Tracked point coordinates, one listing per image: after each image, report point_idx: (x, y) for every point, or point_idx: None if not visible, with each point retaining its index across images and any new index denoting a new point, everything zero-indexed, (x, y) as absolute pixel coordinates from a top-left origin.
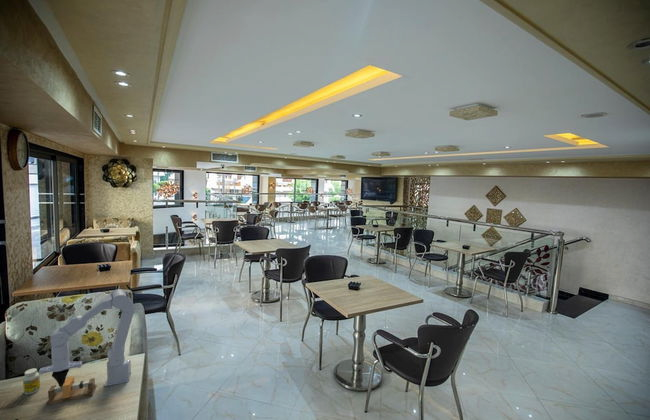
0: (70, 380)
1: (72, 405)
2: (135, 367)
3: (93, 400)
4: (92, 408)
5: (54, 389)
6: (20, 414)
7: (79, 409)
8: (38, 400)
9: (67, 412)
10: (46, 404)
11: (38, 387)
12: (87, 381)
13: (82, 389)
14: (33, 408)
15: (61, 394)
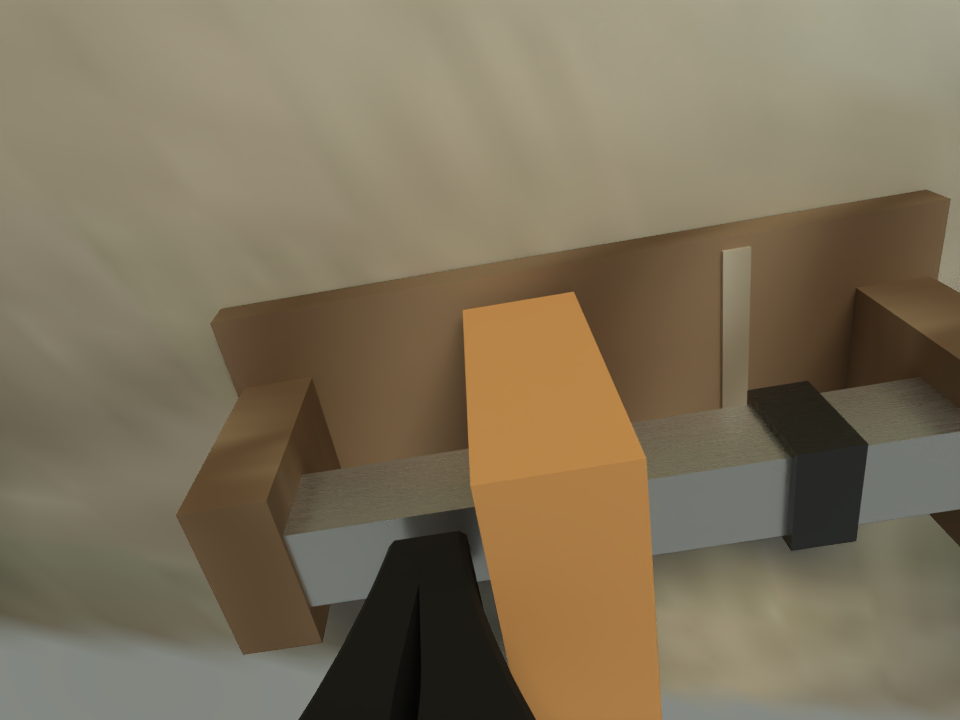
0: (626, 615)
1: (671, 579)
2: None
3: (922, 531)
4: (928, 649)
5: (326, 598)
6: (88, 637)
7: (782, 646)
8: (87, 423)
9: (659, 669)
10: None
11: None
12: (939, 465)
13: (725, 328)
14: (167, 567)
15: (404, 395)
